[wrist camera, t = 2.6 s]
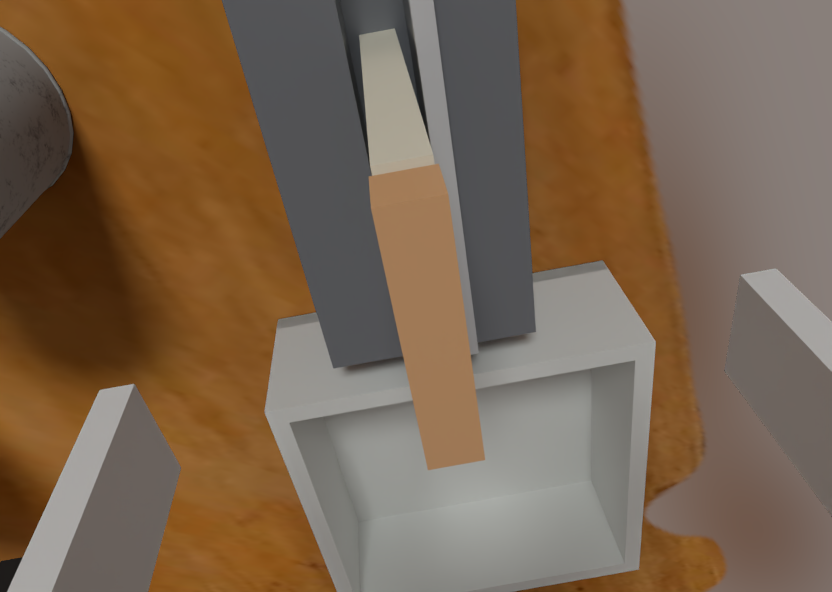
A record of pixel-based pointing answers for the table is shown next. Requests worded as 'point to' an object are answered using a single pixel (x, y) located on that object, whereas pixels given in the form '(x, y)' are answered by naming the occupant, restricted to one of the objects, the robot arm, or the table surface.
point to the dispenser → (350, 165)
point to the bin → (503, 447)
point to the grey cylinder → (29, 129)
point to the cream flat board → (419, 258)
